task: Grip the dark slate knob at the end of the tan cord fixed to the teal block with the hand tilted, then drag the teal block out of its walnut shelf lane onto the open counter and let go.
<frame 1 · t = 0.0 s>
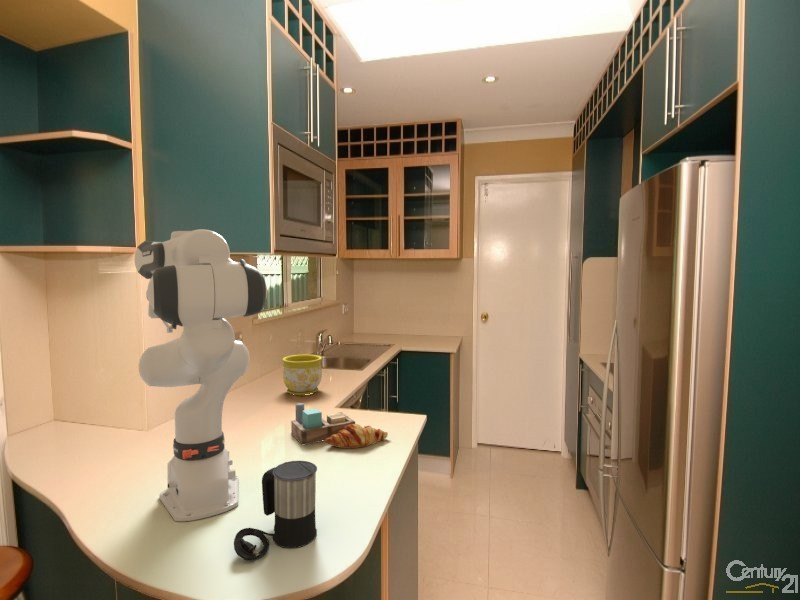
hand: (187, 331, 132), 39 cm above the worktop, tool pointing down, fingers open, 8 cm apart
flowerpot: (302, 392, 207), on the worktop
milk frother: (277, 544, 92), on the worktop
oak block: (336, 432, 156), resting in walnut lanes
croissant: (357, 444, 146), on the worktop
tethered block: (312, 437, 151), on the worktop
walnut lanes: (323, 433, 155), on the worktop
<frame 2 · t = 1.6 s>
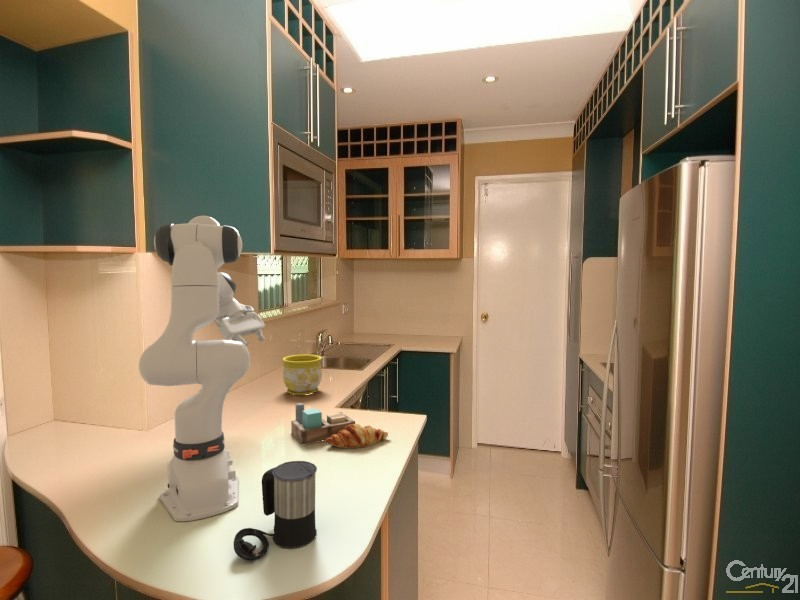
hand: (254, 342, 162), 31 cm above the worktop, tool tilted 45°, fingers open, 8 cm apart
nothing on the worktop moved.
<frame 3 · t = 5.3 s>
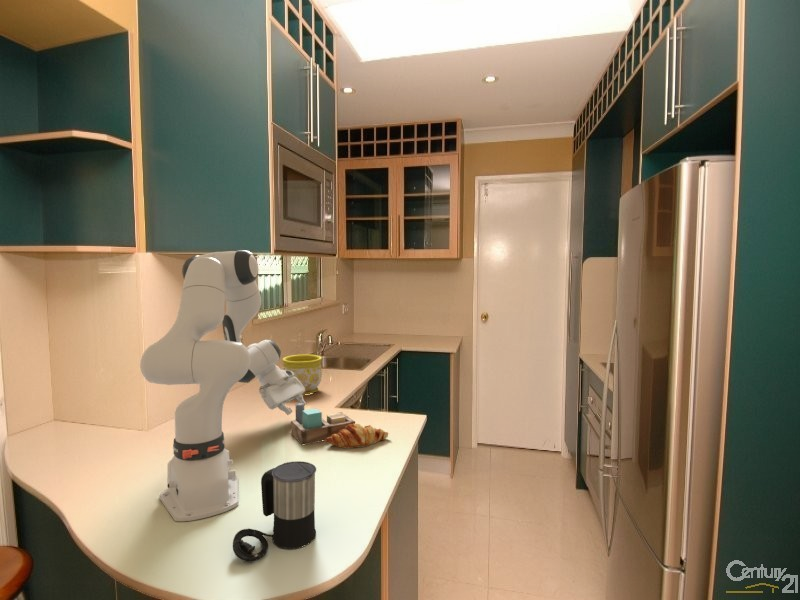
hand: (297, 409, 163), 6 cm above the worktop, tool tilted 45°, fingers open, 8 cm apart
nothing on the worktop moved.
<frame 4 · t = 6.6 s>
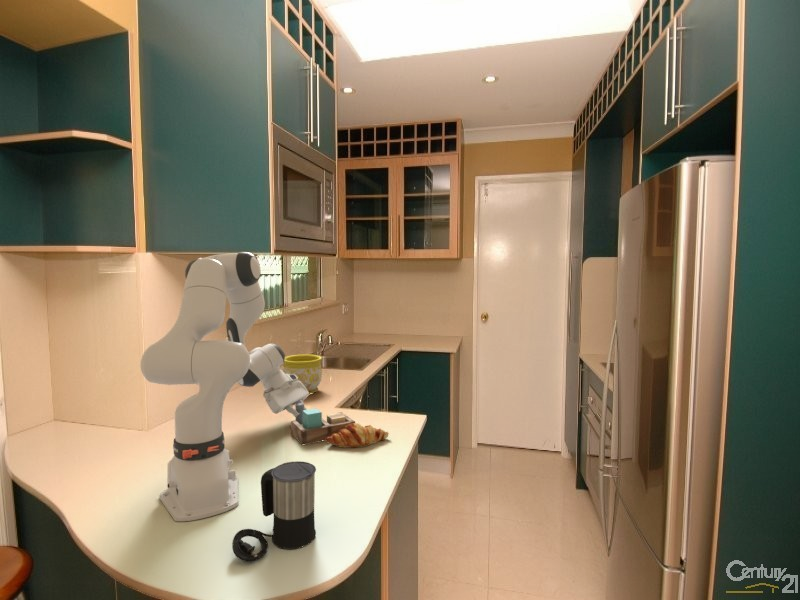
hand: (301, 413, 162), 5 cm above the worktop, tool tilted 45°, fingers closed on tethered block, 3 cm apart
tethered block: (312, 437, 151), on the worktop, touching gripper
everything else where it was.
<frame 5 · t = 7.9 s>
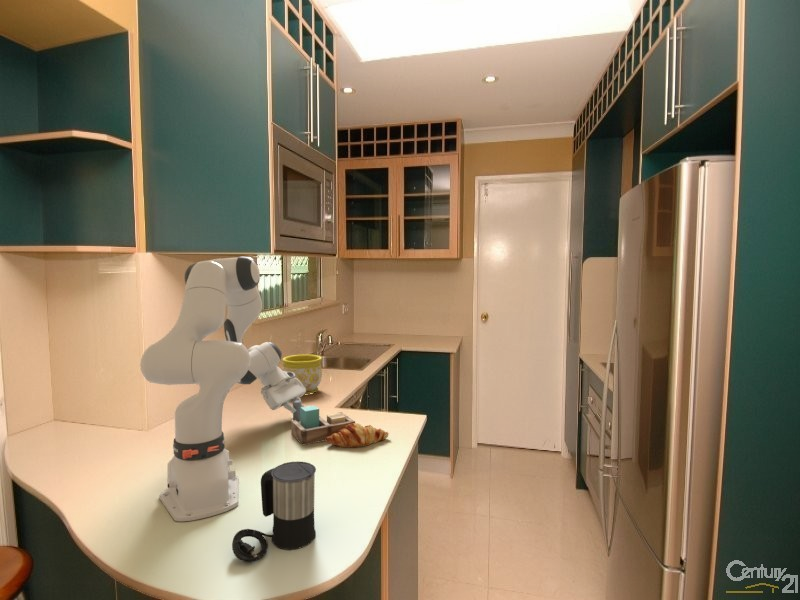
hand: (298, 410, 165), 5 cm above the worktop, tool tilted 45°, fingers closed on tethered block, 3 cm apart
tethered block: (310, 433, 155), on the worktop, touching gripper
everything else where it was.
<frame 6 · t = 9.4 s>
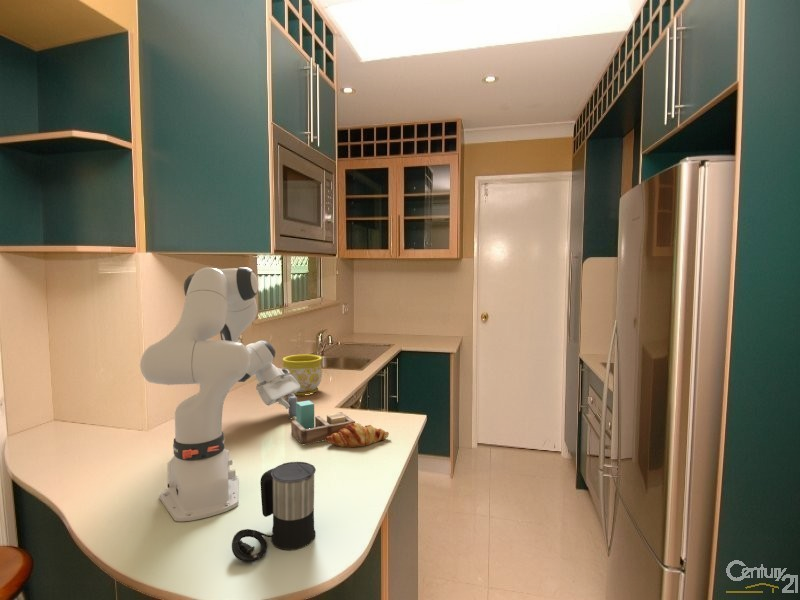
hand: (292, 405, 171), 5 cm above the worktop, tool tilted 45°, fingers closed on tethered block, 3 cm apart
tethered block: (305, 427, 161), on the worktop, touching gripper
everything else where it was.
when the fingers open (5 cm above the worktop, at t = 10.1 s): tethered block stays where it is, on the worktop.
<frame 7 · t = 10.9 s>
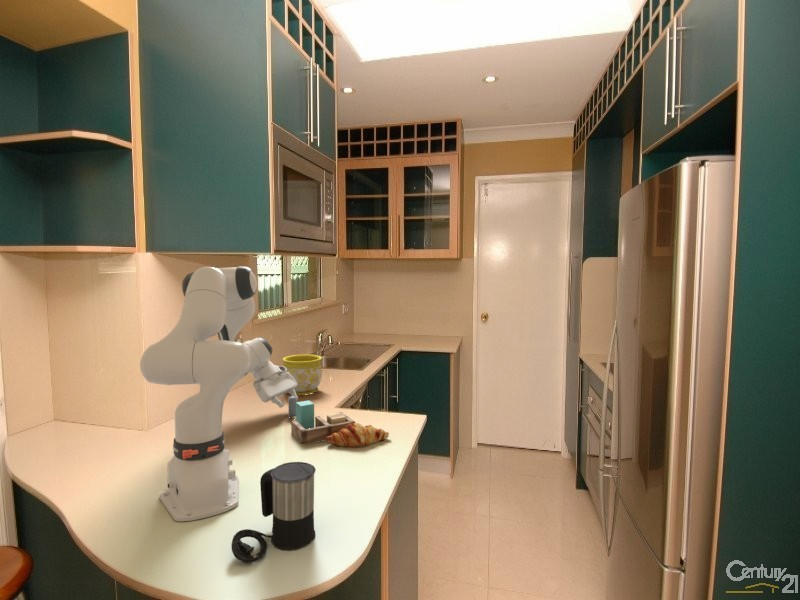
hand: (289, 402, 172), 6 cm above the worktop, tool tilted 45°, fingers open, 8 cm apart
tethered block: (305, 427, 161), on the worktop
everything else where it was.
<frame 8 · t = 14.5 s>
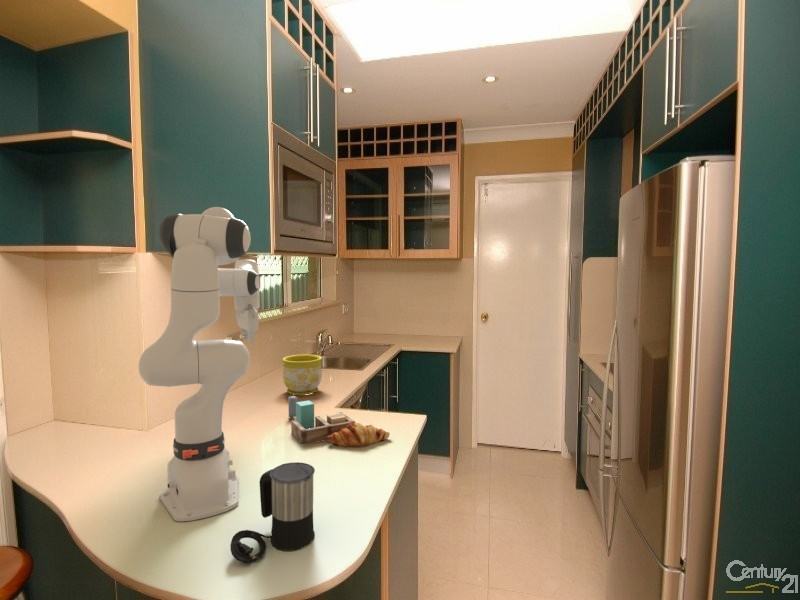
hand: (247, 341, 163), 31 cm above the worktop, tool pointing down, fingers open, 8 cm apart
at the end: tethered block inside the target area (3.4 cm from its centre), on the worktop; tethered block tilted 0°; the gripper is holding nothing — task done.
